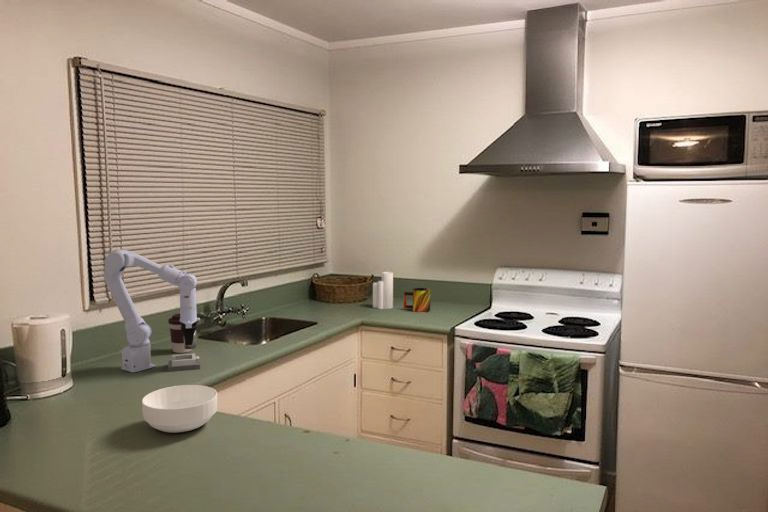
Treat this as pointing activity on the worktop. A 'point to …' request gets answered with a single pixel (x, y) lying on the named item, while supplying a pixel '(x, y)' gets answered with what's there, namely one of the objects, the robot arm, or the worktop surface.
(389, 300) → the vase
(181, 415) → the bowl
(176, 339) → the coffee cup
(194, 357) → the camera body
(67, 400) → the worktop surface
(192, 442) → the worktop surface
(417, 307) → the mug
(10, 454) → the worktop surface
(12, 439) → the worktop surface
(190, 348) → the lens
